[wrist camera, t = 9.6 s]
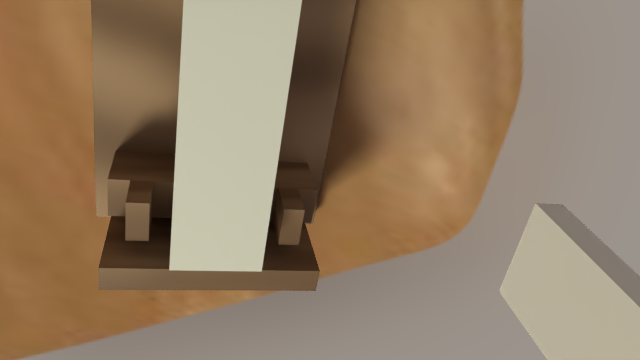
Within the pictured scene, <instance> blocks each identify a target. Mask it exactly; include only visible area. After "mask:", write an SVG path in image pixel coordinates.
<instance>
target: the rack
mask: <svg viewBox="0 0 640 360" xmlns="http://www.w3.org/2000/svg"><path fill="white" fill-rule="evenodd" d="M183 1H184V0H91V13H92V57H93V102H94V146H95V191H96V217H111V220H110V224H109V228H108V232H107V236H106V240H105V244H104V248H103V252H102V256H101V260H100V264H99V290H293V291H295V290H297V291H300V290H301V291H304V290H305V291H315V290H316V286H317V282H318V277H319V272H320V271H319V267H318V264H317V261H316V258H315V254H314V251H313V248H312V245H311V241H310V238H309V235H308V232H307V228H306V225H305V224H313V222H314V217H315V212H316V207H317V202H318V196H319V191H320V186H321V181H322V176H323V170H324V165H325V160H326V155H327V149H328V144H329V139H330V134H331V129H332V123H333V118H334V113H335V108H336V103H337V97H338V92H339V87H340V82H341V77H342V71H343V66H344V61H345V56H346V50H347V45H348V40H349V35H350V30H351V24H352V19H353V14H354V9H355V4H356V0H302V4H301V11H300V18H299V25H298V31H297V38H296V45H295V51H294V58H293V65H292V72H291V78H290V85H289V92H288V98H287V105H286V112H285V119H284V125H283V132H282V139H281V145H280V152H279V159H278V166H277V172H276V179H275V186H274V192H273V199H272V206H271V213H270V219H269V226H268V233H267V239H266V246H265V253H264V260H263V266H262V272H254V271H182V270H169V265H170V246H171V228H172V209H173V190H174V171H175V152H176V133H177V114H178V95H179V76H180V58H181V39H182V20H183Z"/></svg>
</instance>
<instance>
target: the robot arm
mask: <svg viewBox="0 0 640 360" xmlns="http://www.w3.org/2000/svg"><path fill="white" fill-rule="evenodd" d="M499 292H500V293H501V295H502V296H503V298H504V299H505V300H506V302H507V303H508V305H509V306H510V307H511V309H512V310H513V312H514V313H515V314H516V316H517V317H518V319H519V320H520V322H521V323H522V324H523V326H524V327H525V329H526V330H527V331H528V333H529V334H530V336H531V337H532V339H533V340H534V341H535V343H536V344H537V346H538V347H539V348H540V350H541V351H542V353H543V354H544V355H545V357H546V358H547V360H640V276H639V275H638V274H636V273H635V272H634V271H633V270H632V269H631V268H630V267H629V266H628V265H627V264H626V263H625V262H624V261H623V260H622V259H620V258H619V257H618V256H617V255H616V254H615V253H614V252H613V251H612V250H611V249H610V248H609V247H608V246H606V245H605V244H604V243H603V242H602V241H601V240H600V239H599V238H598V237H597V236H596V235H595V234H594V233H593V232H592V231H590V230H589V229H588V228H587V227H586V226H585V225H584V224H583V223H582V222H581V221H580V220H579V219H578V218H576V217H575V216H574V215H573V214H572V213H571V212H570V211H569V210H568V209H567V208H566V207H565V206H564V205H560V204H539V203H536V204H535V206H534V208H533V211H532V213H531V216H530V218H529V221H528V223H527V226H526V228H525V230H524V233H523V235H522V237H521V240H520V242H519V245H518V247H517V250H516V252H515V254H514V257H513V260H512V262H511V264H510V267H509V269H508V272H507V274H506V276H505V279H504V281H503V283H502V286H501V288H500V291H499Z"/></svg>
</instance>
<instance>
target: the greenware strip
mask: <svg viewBox="0 0 640 360" xmlns="http://www.w3.org/2000/svg"><path fill="white" fill-rule="evenodd" d="M301 4H302V0H184V1H183V20H182V39H181V58H180V76H179V95H178V114H177V133H176V152H175V171H174V190H173V209H172V228H171V246H170V265H169V270H182V271H254V272H262V266H263V260H264V253H265V246H266V239H267V233H268V226H269V219H270V213H271V206H272V199H273V192H274V186H275V179H276V172H277V166H278V159H279V152H280V145H281V139H282V132H283V125H284V119H285V112H286V105H287V98H288V92H289V85H290V78H291V72H292V65H293V58H294V51H295V45H296V38H297V31H298V25H299V18H300V11H301Z"/></svg>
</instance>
